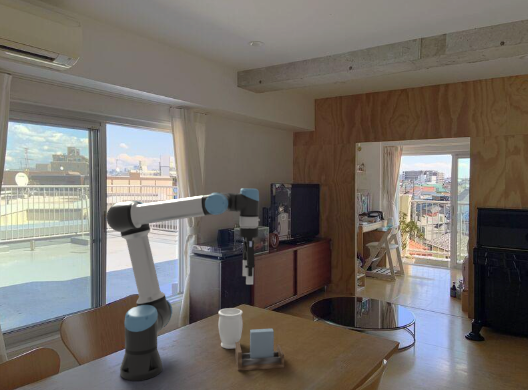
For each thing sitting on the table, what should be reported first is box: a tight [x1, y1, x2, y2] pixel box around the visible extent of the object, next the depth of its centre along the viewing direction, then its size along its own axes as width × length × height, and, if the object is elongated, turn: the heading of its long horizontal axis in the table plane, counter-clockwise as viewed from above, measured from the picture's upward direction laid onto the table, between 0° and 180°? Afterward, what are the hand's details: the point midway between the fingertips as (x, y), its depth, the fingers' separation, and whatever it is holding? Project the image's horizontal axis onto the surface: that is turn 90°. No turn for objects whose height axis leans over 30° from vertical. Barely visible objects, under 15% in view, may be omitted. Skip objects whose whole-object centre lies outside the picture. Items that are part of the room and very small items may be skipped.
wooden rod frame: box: [234, 341, 285, 372], centre depth 156 cm, size 18×10×7 cm, turn 99°
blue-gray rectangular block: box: [249, 328, 275, 359], centre depth 156 cm, size 9×3×12 cm, turn 99°
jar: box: [218, 307, 243, 350], centre depth 173 cm, size 11×10×15 cm
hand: (247, 280), depth 157 cm, fingers open, 13 cm apart
